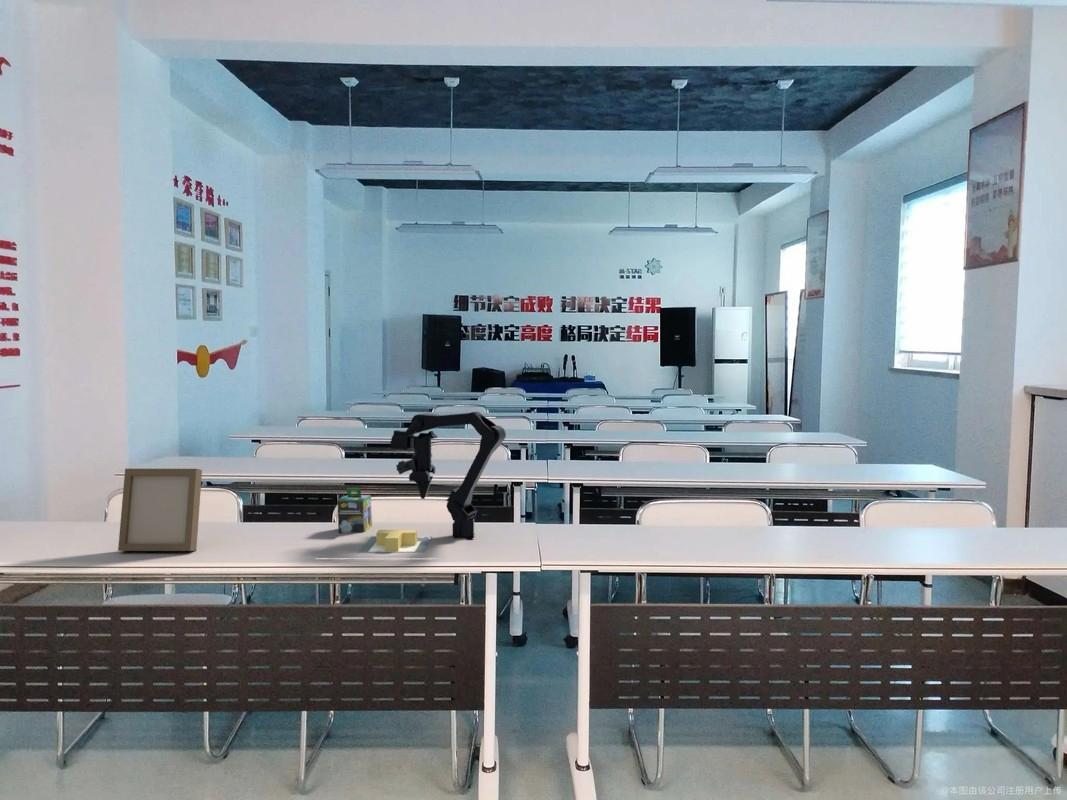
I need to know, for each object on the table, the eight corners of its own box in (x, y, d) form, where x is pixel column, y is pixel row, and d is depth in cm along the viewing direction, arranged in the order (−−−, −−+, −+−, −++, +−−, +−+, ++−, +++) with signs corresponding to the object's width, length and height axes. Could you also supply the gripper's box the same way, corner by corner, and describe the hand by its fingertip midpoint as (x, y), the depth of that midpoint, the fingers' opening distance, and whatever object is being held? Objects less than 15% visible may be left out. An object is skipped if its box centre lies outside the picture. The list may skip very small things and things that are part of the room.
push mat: (433, 537, 264) (433, 536, 264) (424, 554, 243) (424, 552, 243) (372, 537, 265) (372, 536, 265) (357, 553, 244) (357, 552, 244)
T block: (417, 542, 256) (417, 530, 256) (411, 551, 245) (411, 538, 245) (379, 542, 256) (379, 530, 256) (371, 551, 245) (371, 538, 245)
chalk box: (372, 528, 280) (371, 485, 279) (364, 533, 271) (363, 489, 270) (346, 527, 281) (345, 484, 280) (337, 533, 271) (336, 489, 271)
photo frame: (190, 554, 244) (188, 471, 242) (118, 554, 244) (115, 471, 242) (210, 542, 258) (208, 464, 257) (142, 542, 259) (139, 464, 257)
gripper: (402, 448, 277) (403, 493, 278) (393, 455, 258) (393, 503, 259) (435, 448, 277) (435, 493, 278) (427, 455, 258) (428, 504, 259)
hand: (422, 498), depth 269 cm, fingers closed
